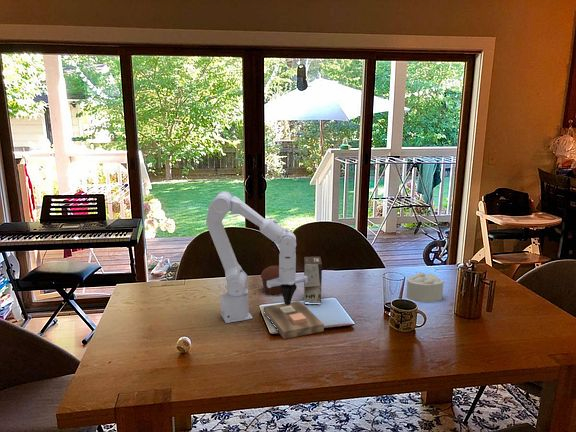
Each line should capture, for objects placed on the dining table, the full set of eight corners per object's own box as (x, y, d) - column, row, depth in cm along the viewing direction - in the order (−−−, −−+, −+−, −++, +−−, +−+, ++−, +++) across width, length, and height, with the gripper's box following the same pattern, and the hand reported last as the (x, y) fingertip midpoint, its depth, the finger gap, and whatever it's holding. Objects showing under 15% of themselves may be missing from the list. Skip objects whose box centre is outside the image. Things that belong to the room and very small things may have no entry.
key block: (283, 339, 142) (283, 331, 142) (263, 313, 160) (263, 306, 160) (323, 331, 147) (323, 324, 147) (299, 307, 165) (299, 300, 165)
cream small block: (284, 319, 155) (283, 312, 154) (279, 314, 159) (279, 307, 158) (295, 317, 157) (295, 310, 156) (291, 312, 161) (291, 305, 160)
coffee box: (321, 305, 167) (322, 264, 163) (304, 305, 167) (304, 263, 163) (320, 295, 176) (321, 256, 172) (303, 295, 176) (304, 256, 172)
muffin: (256, 294, 177) (256, 270, 175) (266, 284, 187) (265, 261, 185) (285, 297, 174) (285, 273, 171) (293, 287, 184) (293, 264, 182)
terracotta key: (293, 327, 147) (293, 320, 146) (288, 321, 151) (288, 314, 150) (306, 325, 148) (306, 318, 148) (300, 319, 152) (301, 312, 152)
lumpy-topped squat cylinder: (445, 301, 171) (446, 279, 169) (413, 303, 168) (414, 282, 166) (431, 290, 181) (433, 270, 179) (401, 292, 178) (402, 272, 176)
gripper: (271, 273, 147) (271, 311, 150) (311, 268, 153) (310, 305, 156) (264, 266, 154) (264, 303, 157) (303, 261, 159) (302, 297, 162)
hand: (287, 303), depth 157 cm, fingers closed
